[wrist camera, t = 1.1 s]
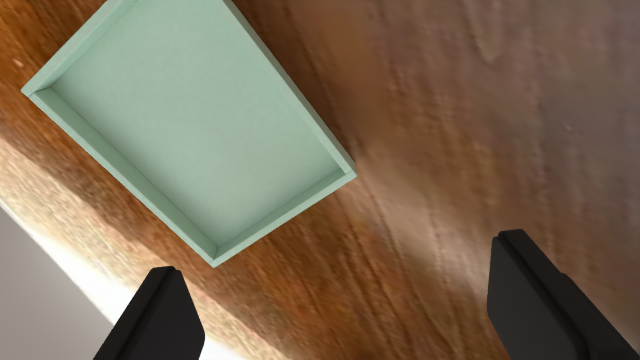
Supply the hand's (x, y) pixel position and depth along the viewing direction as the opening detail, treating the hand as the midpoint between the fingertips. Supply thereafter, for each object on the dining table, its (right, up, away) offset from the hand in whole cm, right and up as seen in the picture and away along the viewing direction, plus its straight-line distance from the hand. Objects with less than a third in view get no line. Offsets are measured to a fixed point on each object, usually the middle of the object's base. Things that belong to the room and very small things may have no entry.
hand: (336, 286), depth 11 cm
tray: (-11, +9, +24) cm, 28 cm away
